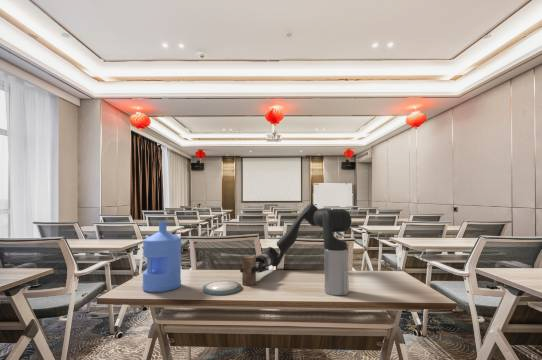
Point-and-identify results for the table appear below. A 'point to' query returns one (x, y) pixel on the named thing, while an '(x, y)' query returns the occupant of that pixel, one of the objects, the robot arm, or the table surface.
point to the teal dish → (221, 288)
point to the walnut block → (248, 270)
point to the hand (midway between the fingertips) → (246, 270)
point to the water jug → (162, 261)
